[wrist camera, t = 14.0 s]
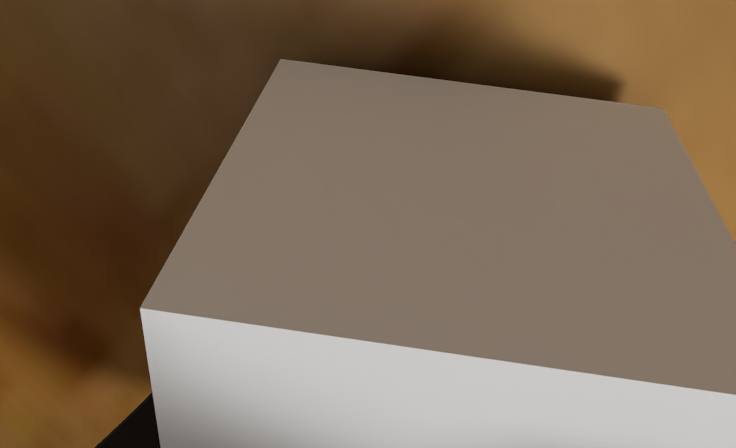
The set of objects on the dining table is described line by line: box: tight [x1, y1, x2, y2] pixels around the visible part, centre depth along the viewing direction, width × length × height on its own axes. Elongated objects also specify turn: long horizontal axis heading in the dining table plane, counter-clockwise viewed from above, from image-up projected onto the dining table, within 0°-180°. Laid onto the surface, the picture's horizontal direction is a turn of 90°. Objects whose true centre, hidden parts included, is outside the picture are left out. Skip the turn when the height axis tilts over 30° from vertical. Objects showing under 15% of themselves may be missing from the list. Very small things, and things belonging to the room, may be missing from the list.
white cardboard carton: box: [140, 59, 736, 448], centre depth 12 cm, size 10×6×6 cm, turn 175°
